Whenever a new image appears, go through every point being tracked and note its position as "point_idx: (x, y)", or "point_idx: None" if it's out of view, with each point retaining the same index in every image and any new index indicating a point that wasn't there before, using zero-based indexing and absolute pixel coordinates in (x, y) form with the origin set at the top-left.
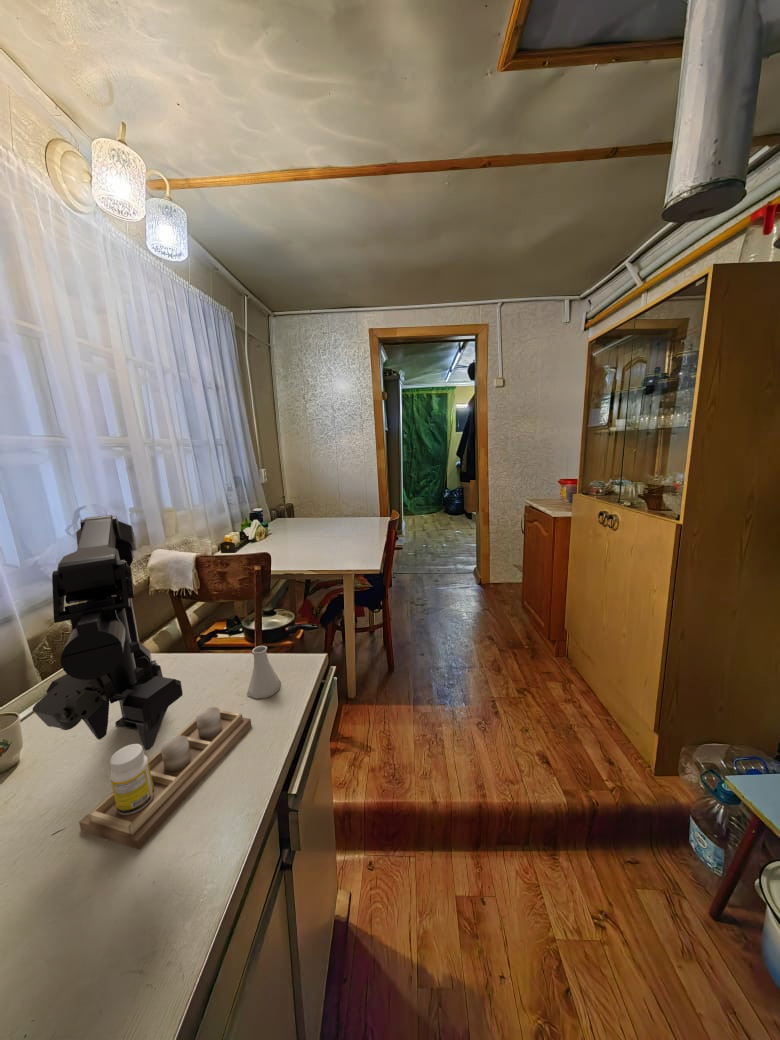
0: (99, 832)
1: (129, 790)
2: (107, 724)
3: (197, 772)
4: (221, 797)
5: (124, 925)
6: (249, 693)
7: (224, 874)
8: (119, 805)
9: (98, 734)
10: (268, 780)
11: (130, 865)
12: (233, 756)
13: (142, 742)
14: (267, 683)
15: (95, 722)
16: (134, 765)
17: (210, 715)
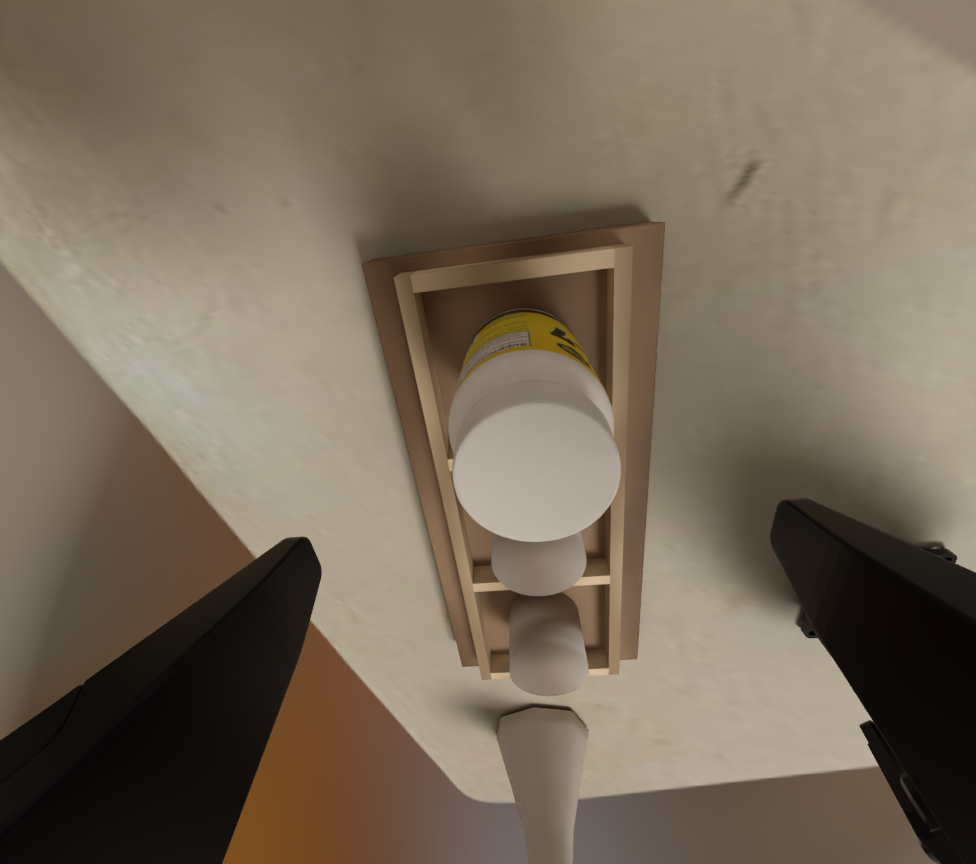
0: (553, 236)
1: (470, 361)
2: (813, 623)
3: (431, 503)
4: (319, 468)
5: (148, 64)
6: (562, 718)
7: (76, 310)
8: (519, 317)
9: (811, 533)
10: (254, 540)
11: (344, 211)
12: (417, 566)
13: (248, 588)
14: (511, 762)
15: (934, 647)
16: (455, 444)
17: (534, 671)
